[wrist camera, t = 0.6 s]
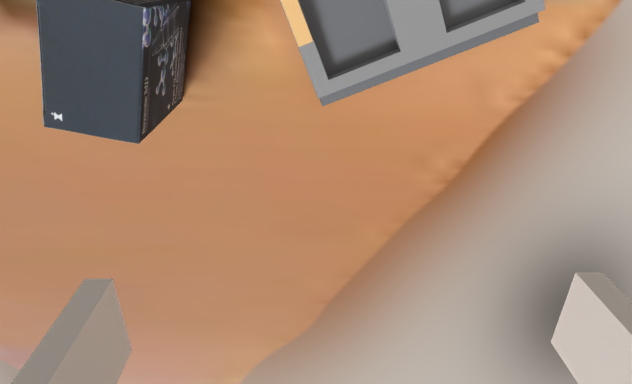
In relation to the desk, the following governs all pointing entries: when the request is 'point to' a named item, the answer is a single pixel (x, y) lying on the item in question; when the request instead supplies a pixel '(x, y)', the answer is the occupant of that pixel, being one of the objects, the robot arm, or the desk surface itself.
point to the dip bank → (393, 36)
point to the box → (111, 64)
